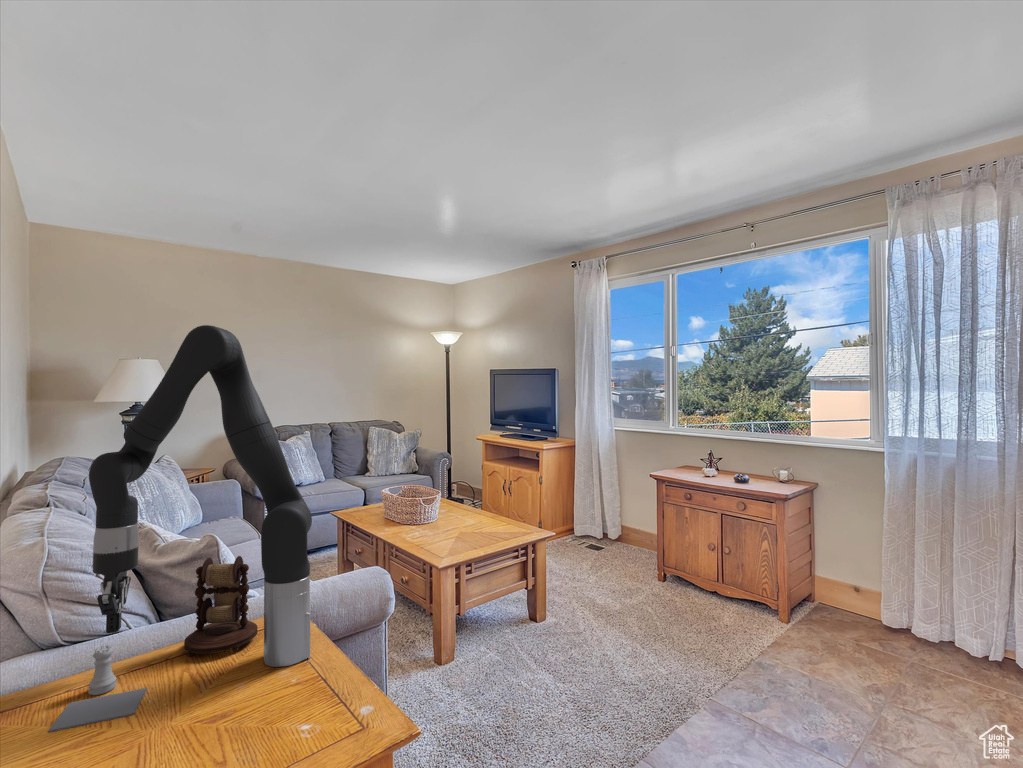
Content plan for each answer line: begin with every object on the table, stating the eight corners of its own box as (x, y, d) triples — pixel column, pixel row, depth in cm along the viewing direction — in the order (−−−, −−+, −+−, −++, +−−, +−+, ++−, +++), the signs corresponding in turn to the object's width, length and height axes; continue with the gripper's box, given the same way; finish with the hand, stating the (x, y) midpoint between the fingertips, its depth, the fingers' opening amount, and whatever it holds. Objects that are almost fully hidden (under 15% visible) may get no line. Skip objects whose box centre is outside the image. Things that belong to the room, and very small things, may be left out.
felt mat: (147, 689, 100) (147, 687, 100) (133, 714, 91) (133, 712, 91) (69, 704, 95) (69, 702, 95) (48, 732, 87) (48, 730, 87)
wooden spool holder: (266, 628, 126) (266, 547, 127) (243, 657, 112) (244, 565, 113) (202, 633, 124) (203, 550, 125) (170, 663, 110) (171, 569, 111)
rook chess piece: (100, 697, 97) (101, 654, 97) (81, 695, 98) (82, 652, 98) (123, 684, 101) (123, 643, 102) (104, 682, 102) (105, 642, 103)
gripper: (128, 553, 103) (125, 641, 102) (146, 537, 115) (143, 616, 114) (81, 557, 100) (78, 648, 99) (104, 541, 112) (102, 622, 111)
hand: (113, 631), depth 106 cm, fingers closed
